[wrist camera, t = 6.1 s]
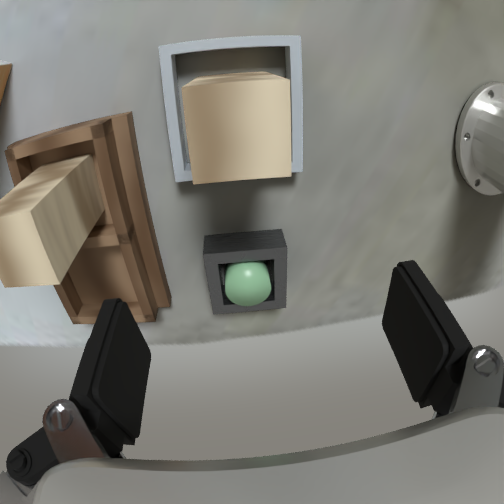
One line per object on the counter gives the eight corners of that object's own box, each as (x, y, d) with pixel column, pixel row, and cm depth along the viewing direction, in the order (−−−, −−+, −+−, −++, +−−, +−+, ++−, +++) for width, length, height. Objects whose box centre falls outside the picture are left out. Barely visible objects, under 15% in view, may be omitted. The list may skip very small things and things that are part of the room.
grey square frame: (295, 37, 20) (300, 35, 18) (297, 163, 26) (302, 171, 24) (163, 46, 20) (158, 46, 18) (178, 173, 26) (175, 182, 24)
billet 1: (91, 153, 22) (30, 211, 14) (105, 208, 25) (60, 284, 17) (42, 164, 22) (-25, 223, 14) (57, 216, 25) (5, 287, 17)
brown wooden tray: (131, 111, 22) (118, 120, 19) (171, 296, 33) (167, 320, 30) (15, 141, 22) (-6, 154, 19) (73, 302, 33) (64, 324, 30)
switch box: (281, 229, 30) (287, 247, 27) (281, 287, 34) (286, 307, 31) (204, 235, 29) (203, 254, 27) (213, 293, 33) (213, 314, 31)
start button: (266, 249, 30) (270, 269, 27) (267, 283, 32) (271, 304, 29) (222, 253, 30) (222, 273, 27) (227, 286, 32) (227, 307, 29)
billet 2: (264, 71, 22) (289, 79, 13) (267, 132, 24) (291, 176, 16) (198, 76, 21) (181, 87, 13) (204, 137, 24) (193, 184, 16)
